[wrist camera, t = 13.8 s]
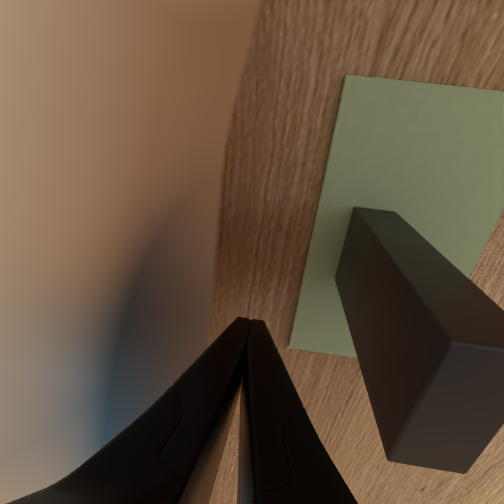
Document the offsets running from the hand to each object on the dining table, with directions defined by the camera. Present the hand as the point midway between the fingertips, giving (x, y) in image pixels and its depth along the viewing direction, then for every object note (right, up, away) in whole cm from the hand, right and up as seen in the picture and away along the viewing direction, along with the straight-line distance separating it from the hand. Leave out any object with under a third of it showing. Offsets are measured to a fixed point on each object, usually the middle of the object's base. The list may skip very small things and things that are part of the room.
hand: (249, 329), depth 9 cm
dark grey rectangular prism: (+6, +3, +7) cm, 10 cm away
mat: (+8, +3, +7) cm, 11 cm away
